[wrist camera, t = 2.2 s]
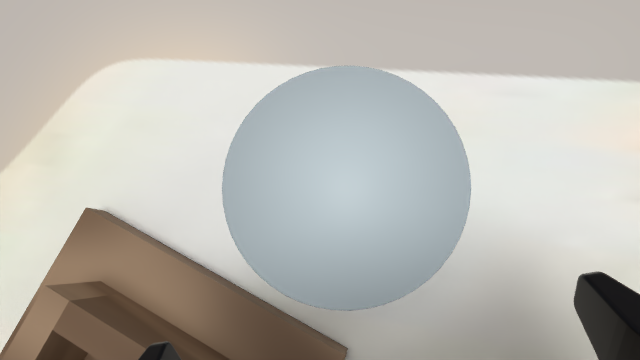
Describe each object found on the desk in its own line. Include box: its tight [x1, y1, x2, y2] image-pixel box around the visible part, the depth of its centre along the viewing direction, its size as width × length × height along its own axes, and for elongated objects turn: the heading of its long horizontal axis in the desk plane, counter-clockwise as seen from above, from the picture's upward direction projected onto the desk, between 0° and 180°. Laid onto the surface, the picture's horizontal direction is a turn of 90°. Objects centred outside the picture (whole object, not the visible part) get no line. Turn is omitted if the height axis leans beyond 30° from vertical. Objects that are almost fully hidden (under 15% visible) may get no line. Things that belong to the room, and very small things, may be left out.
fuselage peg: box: [222, 66, 471, 311], centre depth 14 cm, size 4×4×13 cm
